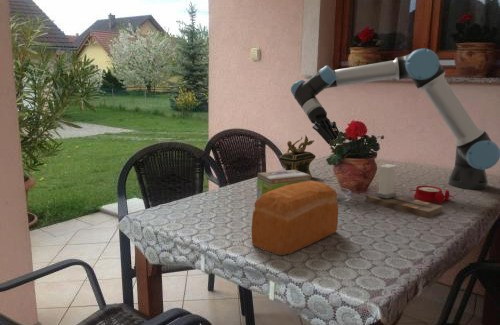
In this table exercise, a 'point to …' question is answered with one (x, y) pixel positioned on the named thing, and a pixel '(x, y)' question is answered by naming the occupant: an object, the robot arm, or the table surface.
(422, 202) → the board
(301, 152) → the decorative box
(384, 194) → the fader tab
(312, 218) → the bread
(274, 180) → the tea box
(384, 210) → the table surface
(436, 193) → the alarm clock
